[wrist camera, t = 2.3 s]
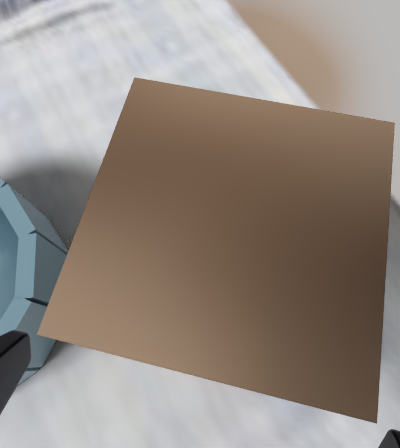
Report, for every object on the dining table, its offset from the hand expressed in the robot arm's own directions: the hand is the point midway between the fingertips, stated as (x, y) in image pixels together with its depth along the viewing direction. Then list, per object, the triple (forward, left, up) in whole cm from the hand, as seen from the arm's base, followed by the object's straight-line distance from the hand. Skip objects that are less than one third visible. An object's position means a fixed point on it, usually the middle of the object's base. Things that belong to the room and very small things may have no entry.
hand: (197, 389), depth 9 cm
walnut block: (+2, +2, -10) cm, 10 cm away
